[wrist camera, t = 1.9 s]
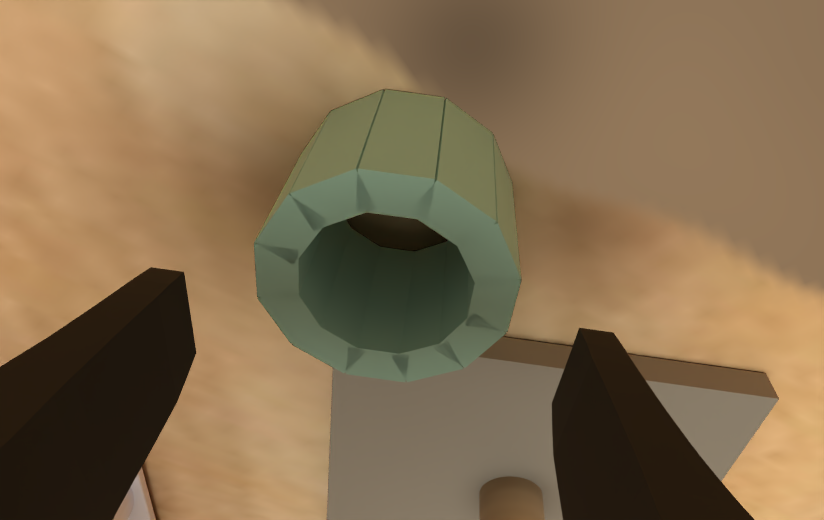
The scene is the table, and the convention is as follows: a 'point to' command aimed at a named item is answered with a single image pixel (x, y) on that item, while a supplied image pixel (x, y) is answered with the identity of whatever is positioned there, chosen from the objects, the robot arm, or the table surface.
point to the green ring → (386, 267)
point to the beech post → (510, 500)
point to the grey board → (503, 429)
